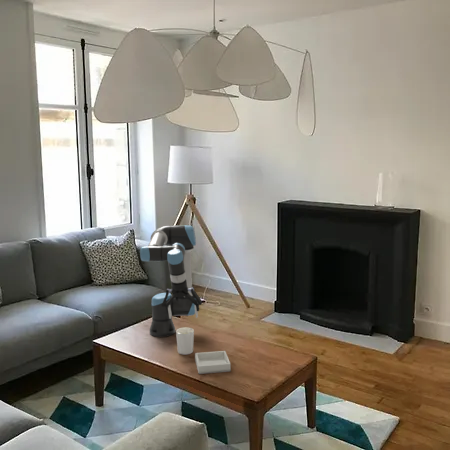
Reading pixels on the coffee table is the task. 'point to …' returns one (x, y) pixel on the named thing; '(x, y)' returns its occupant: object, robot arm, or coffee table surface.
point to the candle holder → (185, 340)
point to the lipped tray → (212, 362)
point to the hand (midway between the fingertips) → (183, 316)
